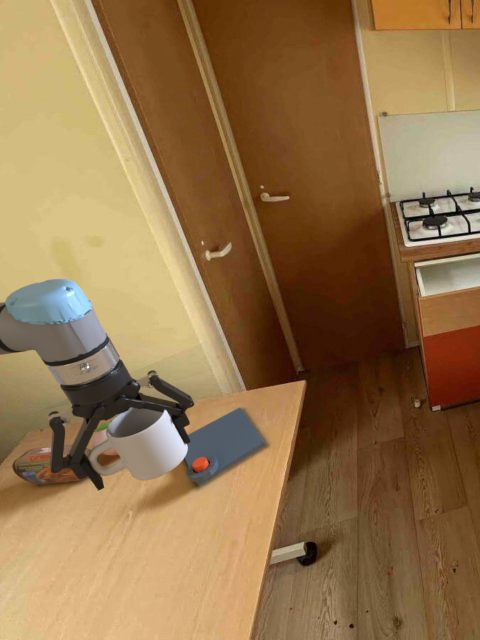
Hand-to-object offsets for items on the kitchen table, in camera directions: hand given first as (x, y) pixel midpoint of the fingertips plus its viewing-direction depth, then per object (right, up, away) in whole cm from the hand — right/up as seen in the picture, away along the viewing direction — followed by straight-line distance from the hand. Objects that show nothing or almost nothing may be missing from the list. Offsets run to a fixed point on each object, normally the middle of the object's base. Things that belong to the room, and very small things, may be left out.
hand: (145, 460), depth 77 cm
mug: (0, -2, +1) cm, 2 cm away
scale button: (-2, -9, +16) cm, 19 cm away
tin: (-33, -12, +17) cm, 39 cm away
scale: (-3, -8, +24) cm, 26 cm away
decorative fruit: (-24, -9, +23) cm, 35 cm away
